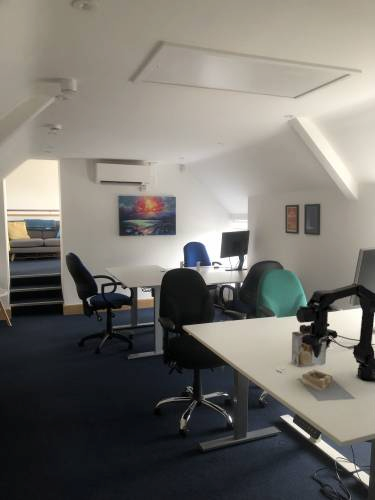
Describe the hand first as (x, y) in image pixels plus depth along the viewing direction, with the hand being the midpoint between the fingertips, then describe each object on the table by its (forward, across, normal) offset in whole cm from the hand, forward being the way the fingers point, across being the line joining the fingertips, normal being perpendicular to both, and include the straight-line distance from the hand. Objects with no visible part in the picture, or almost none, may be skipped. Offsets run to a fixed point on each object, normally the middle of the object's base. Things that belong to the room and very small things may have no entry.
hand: (318, 356), depth 172 cm
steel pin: (+3, 0, 0) cm, 3 cm away
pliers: (+14, +4, -18) cm, 23 cm away
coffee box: (+13, -15, -18) cm, 27 cm away
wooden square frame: (+13, 0, 0) cm, 13 cm away
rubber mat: (+13, +1, +4) cm, 14 cm away
